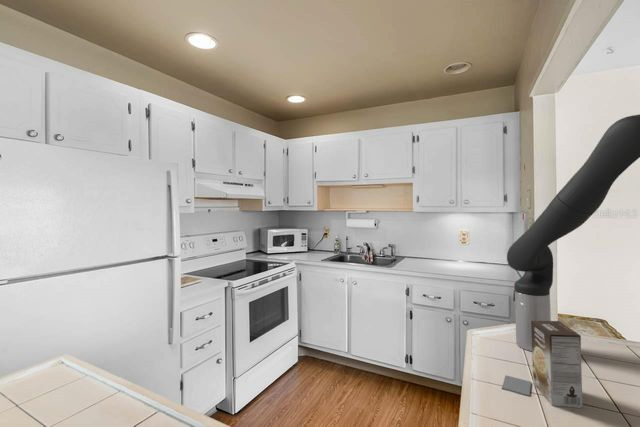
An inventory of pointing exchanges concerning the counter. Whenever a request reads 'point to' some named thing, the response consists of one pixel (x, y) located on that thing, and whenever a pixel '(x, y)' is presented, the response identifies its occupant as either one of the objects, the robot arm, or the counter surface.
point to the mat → (516, 385)
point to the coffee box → (557, 363)
